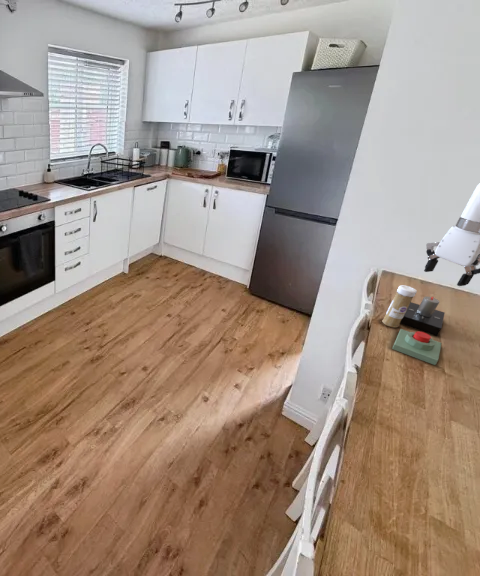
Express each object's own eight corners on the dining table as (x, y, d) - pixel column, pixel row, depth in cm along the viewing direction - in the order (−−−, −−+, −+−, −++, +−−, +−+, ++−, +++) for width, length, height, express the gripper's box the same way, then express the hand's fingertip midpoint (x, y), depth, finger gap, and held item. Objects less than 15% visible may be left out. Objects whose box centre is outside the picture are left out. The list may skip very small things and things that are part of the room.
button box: (435, 365, 102) (441, 355, 101) (392, 349, 108) (397, 339, 107) (438, 347, 110) (444, 337, 108) (398, 333, 116) (403, 323, 114)
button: (427, 345, 105) (430, 340, 105) (412, 339, 108) (414, 334, 107) (428, 339, 108) (431, 335, 107) (413, 334, 110) (416, 329, 109)
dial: (430, 318, 119) (439, 303, 116) (415, 313, 121) (423, 298, 119) (432, 314, 122) (440, 298, 119) (417, 309, 124) (425, 294, 121)
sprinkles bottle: (390, 328, 118) (408, 291, 112) (378, 320, 122) (395, 284, 116) (402, 327, 119) (421, 291, 113) (389, 319, 123) (407, 284, 117)
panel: (436, 336, 115) (441, 328, 114) (398, 323, 121) (402, 315, 120) (440, 320, 124) (445, 312, 123) (404, 308, 130) (408, 300, 129)
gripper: (519, 235, 101) (484, 290, 109) (450, 216, 115) (424, 265, 123) (500, 237, 99) (466, 292, 107) (433, 217, 113) (407, 267, 121)
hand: (444, 278), depth 115 cm, fingers open, 9 cm apart
